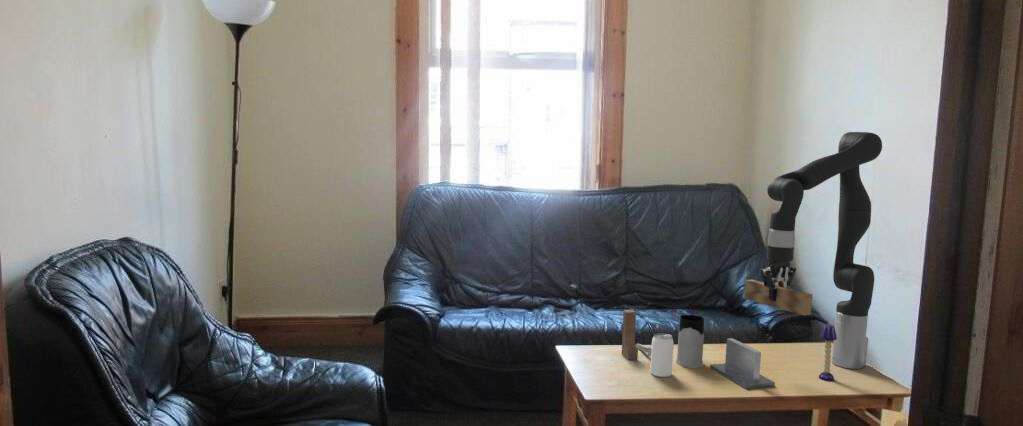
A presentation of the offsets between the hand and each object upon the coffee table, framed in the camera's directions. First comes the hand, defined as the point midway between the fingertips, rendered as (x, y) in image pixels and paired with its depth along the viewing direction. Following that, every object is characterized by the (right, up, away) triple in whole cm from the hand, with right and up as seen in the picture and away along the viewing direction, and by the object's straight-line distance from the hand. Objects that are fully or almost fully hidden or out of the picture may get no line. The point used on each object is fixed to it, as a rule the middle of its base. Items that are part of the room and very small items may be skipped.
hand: (776, 300), depth 207 cm
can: (-35, -23, 0) cm, 42 cm away
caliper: (-36, -21, +18) cm, 46 cm away
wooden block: (-42, -21, +16) cm, 50 cm away
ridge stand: (-11, -23, 0) cm, 26 cm away
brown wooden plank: (0, -2, 0) cm, 2 cm away
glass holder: (-22, -22, +14) cm, 34 cm away
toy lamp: (+15, -24, 0) cm, 29 cm away
